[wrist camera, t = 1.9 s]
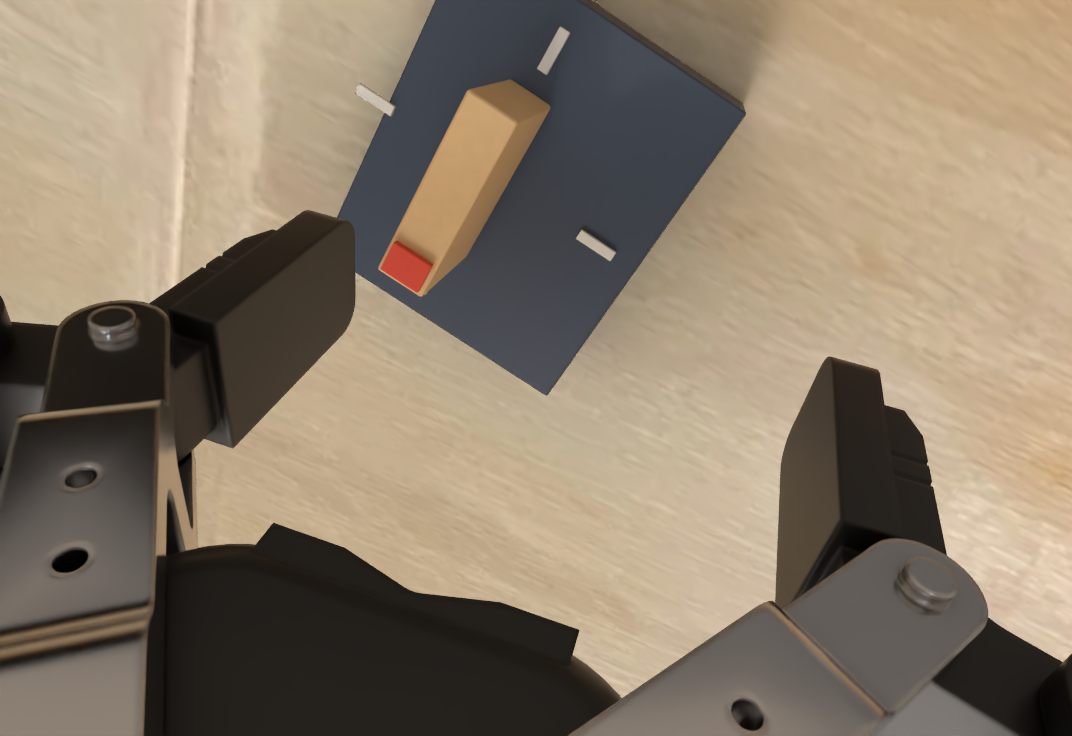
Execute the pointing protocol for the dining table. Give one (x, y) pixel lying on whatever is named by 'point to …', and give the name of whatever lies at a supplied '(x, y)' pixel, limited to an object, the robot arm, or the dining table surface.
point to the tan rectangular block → (463, 183)
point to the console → (541, 171)
